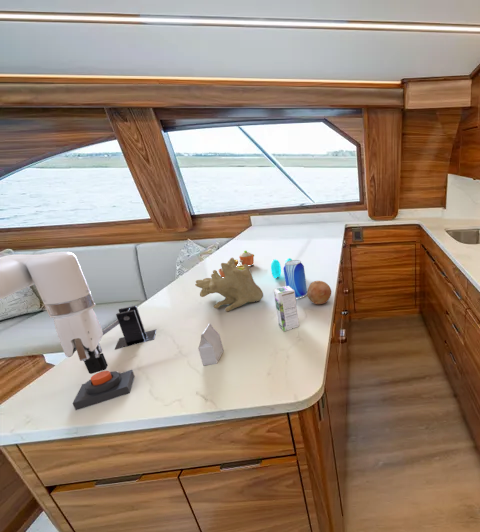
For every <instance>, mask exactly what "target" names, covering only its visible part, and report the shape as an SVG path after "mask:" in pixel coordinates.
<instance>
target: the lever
mask: <svg viewBox="0 0 480 532" xmlns="http://www.w3.org/2000/svg"><path fill="white" fill-rule="evenodd" d="M127 311H131V309H130V308H129V309H128V310H127ZM127 311H125V312H127ZM119 325H120V324H119V322H118V319H117V320H115V321H114V322H113V323H111V324H109V326H107V327H106V328H105V329H102V331H103V336H104V335H106V334H108V333H109V332H111V330H113V329H114V328H116V327H117V326H119Z"/></svg>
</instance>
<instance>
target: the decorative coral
mask: <svg viewBox="0 0 480 532" xmlns="http://www.w3.org/2000/svg"><path fill="white" fill-rule="evenodd" d="M234 259H235V258H234V257H230V259H229V260H228V261H229V262H228V261H227V262H228V263H227V262H221V263H220V266H221V269H222V270H223V272H224V274H225V277H224V278H222V277H221V276H220V273H219V272H218V271H217V270H216V269H213V270H212V273H211V275H210V277H205V278H203V279H196V280H195V287H197V288H199V289H201V290H200V292H199V297H201V298H204V297H207V296H208V295H210V294H219V295H221V296H222V297H224V299H223V300H219V301H217V302H216V304H214V305H213V309H219V308H220V307H221V306H226V307H225V308H224V311H225V312H227V313H228V312H231V311H232V310H233V309H236V308H240V307H241V306H243V305H245V304H247V303H256V302H260V301H261V300H262V299H263V298H264V292H263V290H262V289H261V287H260V286H259V285H257V283H256V282H255V280H254V277H253V274H252V272H251V267H250V266H247V264H244V267H245V269H244V270H239V269H238V268H237V267H236V265H235V261H234ZM226 263H227V264H226ZM255 301H256V302H255Z"/></svg>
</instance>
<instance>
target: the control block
mask: <svg viewBox="0 0 480 532" xmlns="http://www.w3.org/2000/svg"><path fill="white" fill-rule="evenodd" d="M110 373H111V376H112V379H110V380H109V381H107V382H105V383H103V384H99V385H93V384H92V381H91V378H90V379H88V380H87V381H86V382H84V383H82V384H81V385H80V388H79V390H78V392H77V394H76V396H75V398H74V400H73V402H72V405H73V407H74V410H75V411H78V410H82V409H85V408H88V407H91V406H94V405H97V404H100V403H103V402H107V401H110V400H112V399H116V398H120V397H122V396H126V395H128V394H131V390H132V387H133V383H134V379H135V374H134V371H133V369H130V370H127V371H123V372H119V371H110Z"/></svg>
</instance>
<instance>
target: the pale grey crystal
mask: <svg viewBox="0 0 480 532" xmlns="http://www.w3.org/2000/svg"><path fill="white" fill-rule="evenodd" d="M198 352H199V356H200V359H201V364H202V366H204V367H205V366H209V365H215V364H218V362H219V360H220V359H221V356H222V355H223V352H224V347H223V342H222V338H221V334H220V333H219V331H217V330H216V329H215V328H214V327H213V325H212V324H211V323H208V324H207V326H206V327H205V329H204V330H203V332H201V335H200V341H199V345H198Z"/></svg>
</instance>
